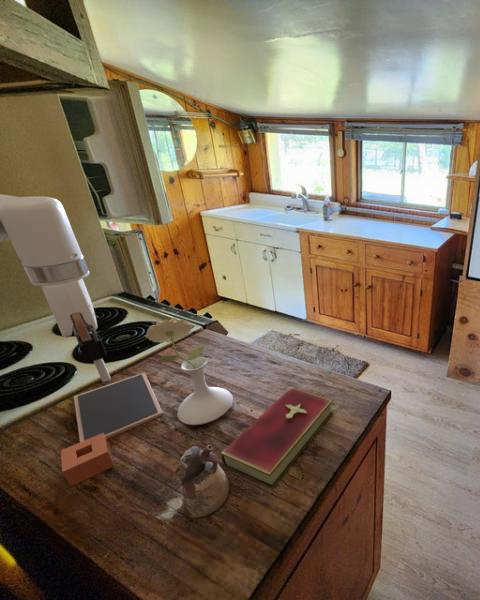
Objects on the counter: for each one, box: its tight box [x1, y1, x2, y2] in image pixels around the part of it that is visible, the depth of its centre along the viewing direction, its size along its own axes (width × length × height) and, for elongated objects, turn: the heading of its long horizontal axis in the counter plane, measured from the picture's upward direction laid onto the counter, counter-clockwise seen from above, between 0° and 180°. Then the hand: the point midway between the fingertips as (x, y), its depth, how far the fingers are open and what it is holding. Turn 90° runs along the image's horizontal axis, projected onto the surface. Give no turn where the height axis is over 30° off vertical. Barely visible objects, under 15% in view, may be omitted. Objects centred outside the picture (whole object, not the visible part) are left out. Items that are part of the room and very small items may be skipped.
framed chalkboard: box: [73, 372, 164, 443], centre depth 77 cm, size 14×20×1 cm
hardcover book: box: [220, 386, 334, 490], centre depth 70 cm, size 12×21×4 cm, turn 159°
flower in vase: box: [144, 317, 234, 426], centre depth 71 cm, size 13×11×25 cm
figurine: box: [175, 444, 230, 519], centre depth 56 cm, size 7×7×12 cm
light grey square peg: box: [89, 332, 112, 385], centre depth 65 cm, size 1×1×12 cm
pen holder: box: [60, 433, 115, 487], centre depth 62 cm, size 6×6×4 cm
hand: (96, 356), depth 65 cm, fingers closed on light grey square peg, 1 cm apart
